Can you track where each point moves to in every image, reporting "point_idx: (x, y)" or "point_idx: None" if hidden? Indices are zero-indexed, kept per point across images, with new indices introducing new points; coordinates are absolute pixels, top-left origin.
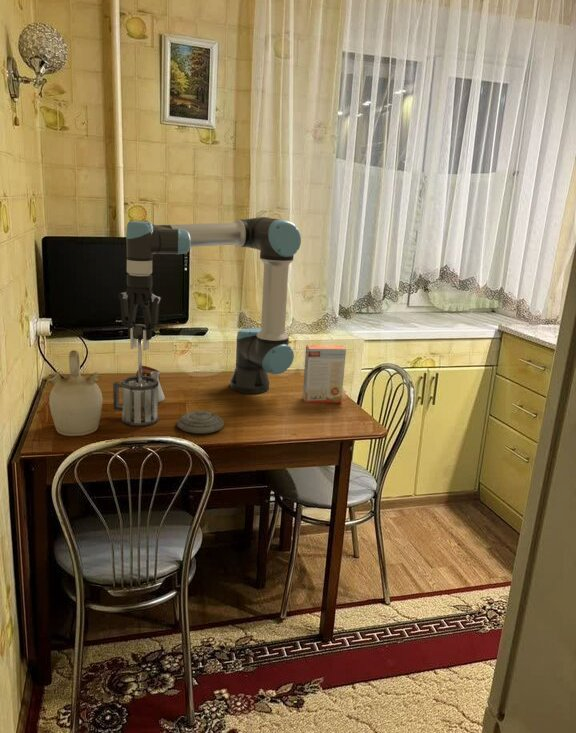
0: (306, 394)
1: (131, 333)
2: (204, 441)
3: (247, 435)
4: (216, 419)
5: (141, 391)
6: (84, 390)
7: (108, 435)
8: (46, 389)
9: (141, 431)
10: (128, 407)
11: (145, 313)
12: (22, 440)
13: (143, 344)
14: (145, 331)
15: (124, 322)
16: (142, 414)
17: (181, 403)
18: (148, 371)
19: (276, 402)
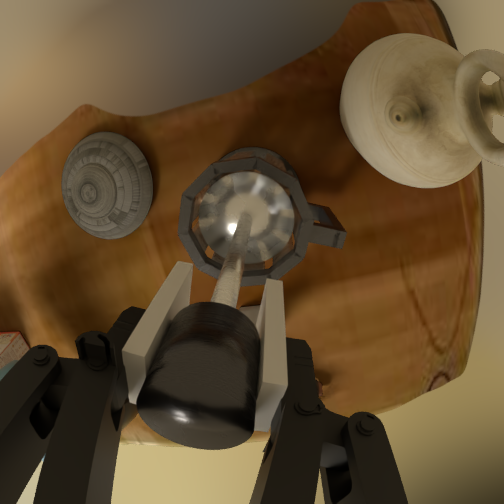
0: (11, 339)
1: (275, 349)
2: (83, 112)
3: (29, 171)
4: (64, 187)
5: (227, 176)
6: (399, 51)
7: (300, 81)
8: (472, 320)
9: (227, 120)
10: (272, 158)
11: (47, 498)
12: None
13: (179, 282)
14: (126, 345)
15: (358, 434)
16: None
17: None
18: None
19: (47, 332)
